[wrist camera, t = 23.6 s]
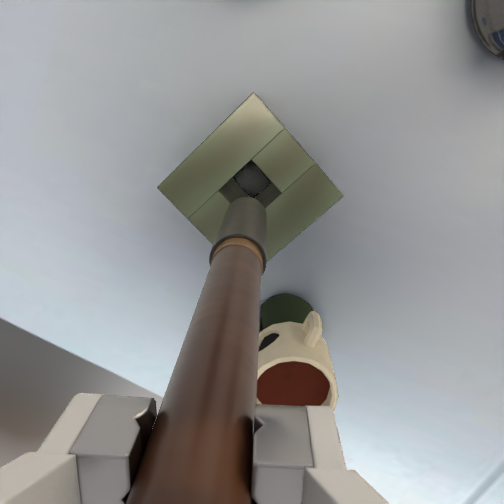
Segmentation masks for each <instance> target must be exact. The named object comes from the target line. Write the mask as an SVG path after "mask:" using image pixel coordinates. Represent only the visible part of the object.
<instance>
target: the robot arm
mask: <svg viewBox="0 0 504 504" xmlns="http://www.w3.org/2000/svg"><path fill="white" fill-rule="evenodd" d="M156 417H157V412H156V401H155V400H154V398H145V397H132V396H119V395H106V394H105V395H102V394H88V393H79V394H77V395H75V396H74V397H73V398H72V400H71V401H70V403H69V404H68V406H67V407H66V409H65V410H64V412H63V413H62V415H61V416H60V417H59V419H58V420H57V422H56V423H55V425H54V426H53V428H52V430H51V431H50V432H49V434H48V435H47V437H46V438H45V440H44V441H43V443H42V444H41V446H40V447H39V449H38V450H37V452H27V453H25V454H23V455H22V456H20V457H18V458H17V459H15V460H13V461H11V462H10V463H8V464H6V465H5V466H3V467H1V468H0V504H126V502H127V499H128V496H129V494H130V491H131V488H132V485H133V482H134V480H135V477H136V474H137V471H138V468H139V466H140V463H141V460H142V457H143V454H144V452H145V449H146V446H147V443H148V440H149V438H150V435H151V432H152V428H153V426H154V423H155V420H156ZM251 496H252V498H253V504H389V503H388V502H387V501H386V500H385V499H384V498H383V497H382V496H381V495H380V494H379V493H378V492H377V491H376V490H375V489H374V488H373V487H372V486H371V485H369V484H368V483H367V482H366V481H365V480H364V479H363V478H362V477H361V476H360V475H359V474H358V473H357V472H356V471H355V470H347V469H346V465H345V460H344V456H343V451H342V447H341V442H340V438H339V433H338V429H337V424H336V420H335V415H334V411H333V409H332V407H331V406H286V405H266V404H255V416H254V435H253V459H252V484H251Z"/></svg>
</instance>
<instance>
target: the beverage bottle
mask: <svg viewBox="0 0 504 504" xmlns="http://www.w3.org/2000/svg"><path fill="white" fill-rule="evenodd" d="M471 15H472V21H473V25H474V28H475V31H476V33H477V35H478V37H479V39H480V40H481V42H482V43H483V45H484V46H485V47H486V48H487V49H488V50H489V51H490V52H491V53H493V54H494V55H496V56H497V57H499V58H501V59H504V0H471Z"/></svg>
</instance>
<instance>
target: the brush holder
mask: <svg viewBox="0 0 504 504" xmlns="http://www.w3.org/2000/svg"><path fill="white" fill-rule="evenodd" d="M251 159H252V161H253V162H254V163H255V164H256V165H257V166H258V167H259V168H260V170H261V171H262V172H263V173H264V174H265V175H266V176H267V177H268V178H269V179H270V181H271V183H270V184H269V185H268V186H267V187H266V188H265V189H264V190H263V191H261V192H260V193H259V194H258V195H257V196H256V197H255V199H256V200H258V201H259V202H260V203H262V205H263V206H264V208H265V210H266V214H267V249H266V262H267V261H268V260H269V259H271V258H272V257H273V256H274V255H275V254H276V253H278V252H279V251H280V250H281V249H282V248H283V247H285V246H286V245H287V244H288V243H289V242H290V241H292V240H293V239H294V238H295V237H296V236H297V235H299V234H300V233H301V232H302V231H303V230H305V229H306V228H307V227H308V226H309V225H310V224H312V223H313V222H314V221H315V220H316V219H317V218H319V217H320V216H321V215H322V214H323V213H324V212H326V211H327V210H328V209H329V208H330V207H331V206H333V205H334V204H335V203H336V202H337V201H339V200H340V199H341V198H342V197H343V194H342V193H341V192H340V191H339V190H338V188H337V187H336V186H335V185H334V184H333V183H332V181H331V180H330V179H329V178H328V177H327V176H326V175H325V173H324V172H323V171H322V170H321V169H320V168H319V166H318V165H317V164H316V163H315V162H314V161H313V160H312V158H311V157H310V156H309V155H308V154H307V153H306V152H305V150H304V149H303V148H302V147H301V146H300V145H299V143H298V142H297V141H296V140H295V139H294V138H293V137H292V135H291V134H290V133H289V132H288V131H287V130H286V129H285V127H284V126H283V125H282V124H281V123H280V122H279V120H278V119H277V118H276V117H275V116H274V115H273V114H272V112H271V111H270V110H269V109H268V108H267V107H266V106H265V104H264V103H263V102H262V101H261V100H260V99H259V97H258V96H257V95H256V94H255V93H252V94H251V95H250V96H249V97H248V98H247V99H246V100H245V101H244V102H243V103H242V104H241V105H240V106H239V107H238V108H237V109H236V110H235V111H234V112H233V113H232V114H231V115H230V116H229V117H228V118H227V119H226V120H225V121H224V122H223V123H222V124H221V125H220V126H219V127H218V128H217V129H216V130H215V131H214V132H213V133H212V134H211V135H210V136H209V137H208V138H207V139H206V140H205V141H204V142H203V143H202V144H201V145H200V146H199V147H198V148H197V149H195V150H194V151H193V152H192V153H191V154H190V155H189V156H188V157H187V158H186V159H185V160H184V161H183V162H182V163H181V164H180V165H179V166H178V167H177V168H176V169H175V170H174V171H173V172H172V173H171V174H170V175H169V176H168V177H167V178H166V179H165V180H164V181H163V182H162V183H161V184H160V185H159V186H158V187H157V188H158V189H159V190H160V191H161V192H162V193H163V194H164V195H165V196H166V197H167V198H168V199H169V200H170V201H171V203H172V204H173V205H174V206H175V207H176V208H177V209H178V210H179V211H180V212H181V213H182V214H183V215H184V216H185V217H186V218H187V219H188V220H189V221H190V222H191V223H192V224H193V225H194V226H195V227H196V228H197V229H198V230H199V231H200V232H201V233H202V234H203V235H204V236H205V237H206V238H207V239H208V240H209V241H210V242H211V243H212V244H213V245H214V242H215V240H216V237H217V235H218V232H219V230H220V227H221V224H222V222H223V219H224V217H225V214H226V212H227V209H228V207H229V205H230V204H231V203H232V202H233V201H234V200H236V199H238V198H241V197H250V196H249V195H248V194H247V193H246V192H245V191H244V190H243V189H242V188H241V187H240V186H239V185H238V183H237V182H236V181H235V180H234V179H233V178H232V177H233V176H234V175H235V174H236V173H237V172H238V171H239V170H240V169H242V168H243V167H244V166H245V165H246V164H247V163H248V162H249V161H250V160H251Z"/></svg>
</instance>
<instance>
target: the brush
mask: <svg viewBox="0 0 504 504" xmlns="http://www.w3.org/2000/svg"><path fill="white" fill-rule="evenodd" d="M266 249H267V214H266V210H265V208H264V206H263V205H262V203H260V202H259V201H258V200H256V199H255V198H252V197H241V198H238V199H236V200H234V201H233V202H232V203H231V204H230V205H229V207H228V209H227V212H226V214H225V217H224V219H223V222H222V224H221V227H220V230H219V232H218V235H217V237H216V240H215V242H214V245H213V247H212V250H211V253H210V258H209V262H210V270H209V272H208V275H207V278H206V281H205V284H204V286H203V289H202V292H201V295H200V298H199V300H198V303H197V306H196V309H195V312H194V314H193V317H192V320H191V323H190V326H189V328H188V331H187V334H186V337H185V340H184V342H183V345H182V348H181V351H180V354H179V356H178V359H177V362H176V365H175V368H174V370H173V373H172V376H171V379H170V382H169V384H168V387H167V390H166V393H165V396H164V398H163V401H162V404H161V407H160V410H159V413H158V415H157V418H156V421H155V424H154V426H153V429H152V432H151V435H150V438H149V440H148V443H147V446H146V449H145V452H144V454H143V457H142V460H141V463H140V466H139V468H138V471H137V474H136V477H135V480H134V482H133V485H132V488H131V491H130V494H129V496H128V499H127V502H126V504H253V498H252V496H251V484H252V459H253V435H254V416H255V404H256V403H257V375H258V348H259V321H260V294H261V276H262V275H263V273H264V271H265V268H266Z"/></svg>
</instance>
